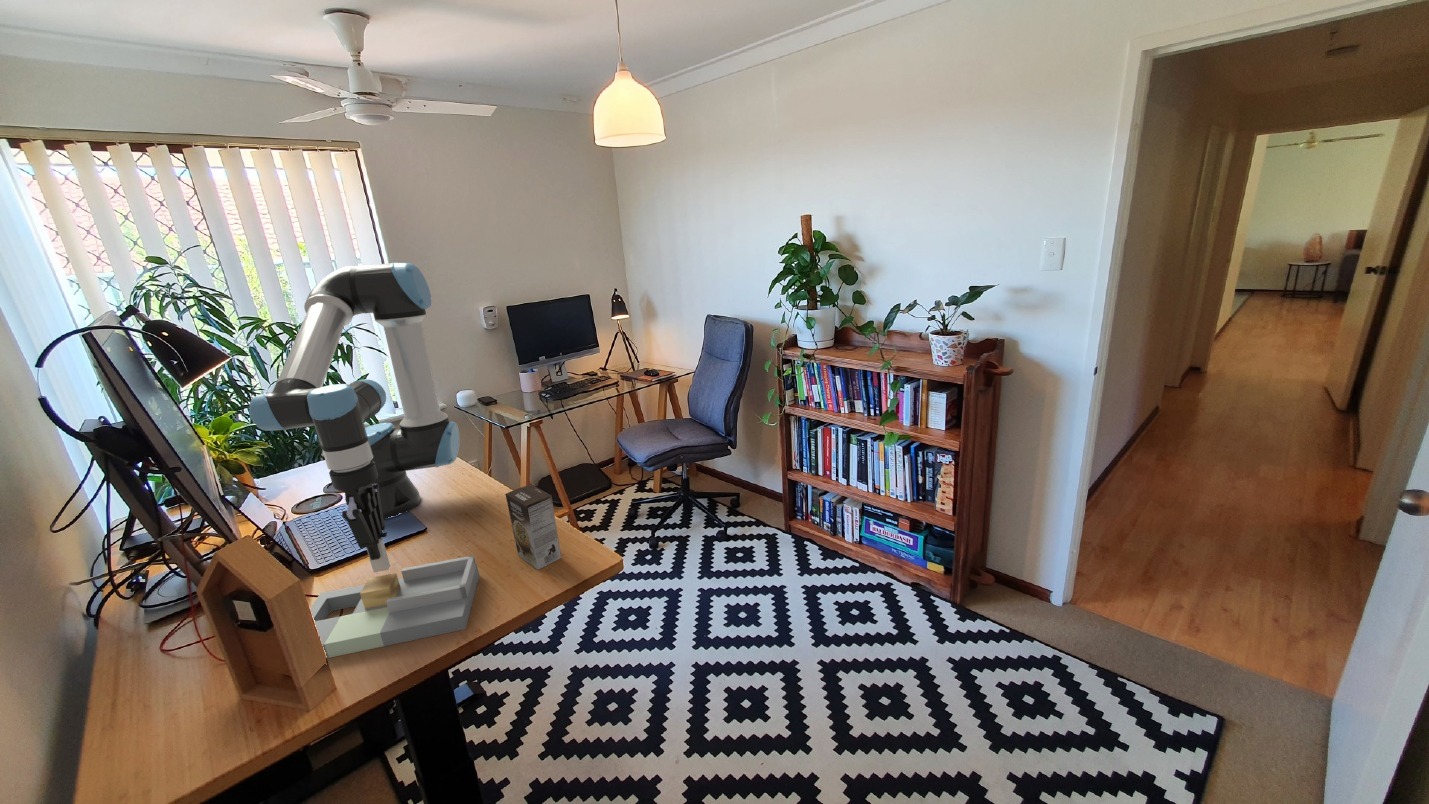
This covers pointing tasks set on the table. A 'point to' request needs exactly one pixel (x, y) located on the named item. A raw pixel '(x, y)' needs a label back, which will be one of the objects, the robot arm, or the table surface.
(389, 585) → the ochre block
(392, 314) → the robot arm
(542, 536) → the coffee box
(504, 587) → the table surface
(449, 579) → the tray
